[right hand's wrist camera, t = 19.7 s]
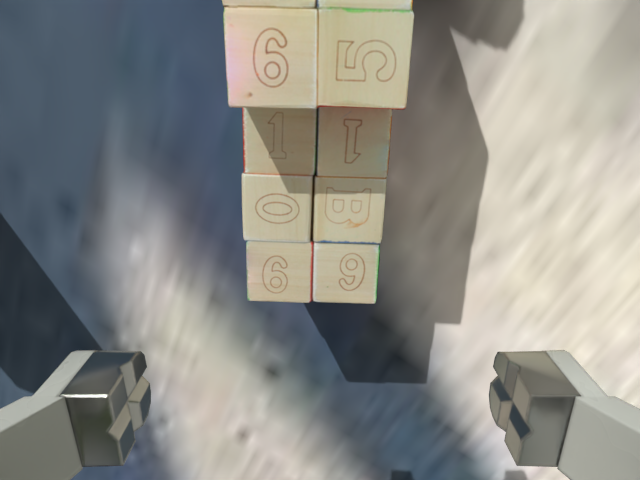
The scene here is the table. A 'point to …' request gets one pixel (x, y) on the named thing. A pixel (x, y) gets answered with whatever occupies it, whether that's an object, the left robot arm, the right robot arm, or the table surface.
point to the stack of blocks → (316, 139)
